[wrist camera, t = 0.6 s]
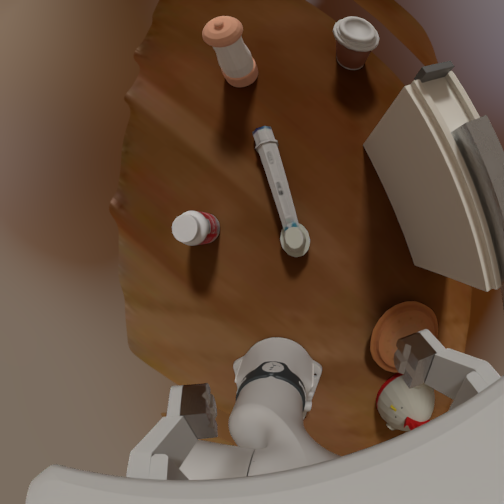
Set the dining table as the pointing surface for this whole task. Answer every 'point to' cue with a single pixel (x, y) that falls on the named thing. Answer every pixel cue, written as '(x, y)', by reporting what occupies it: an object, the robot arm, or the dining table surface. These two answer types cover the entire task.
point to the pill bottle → (195, 228)
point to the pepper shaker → (231, 50)
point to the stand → (434, 179)
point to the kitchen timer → (404, 404)
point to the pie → (399, 330)
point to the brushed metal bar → (486, 177)
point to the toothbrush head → (281, 193)
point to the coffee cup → (354, 41)
